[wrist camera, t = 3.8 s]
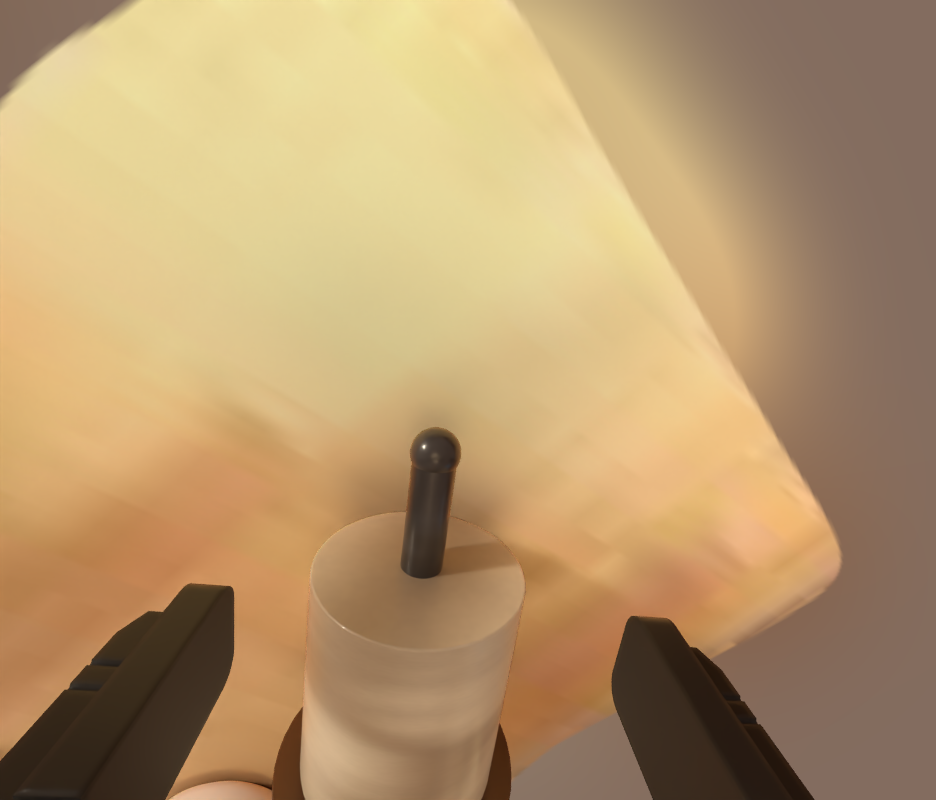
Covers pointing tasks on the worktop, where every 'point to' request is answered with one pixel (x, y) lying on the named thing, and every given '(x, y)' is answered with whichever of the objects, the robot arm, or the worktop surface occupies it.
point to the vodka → (225, 791)
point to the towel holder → (407, 653)
